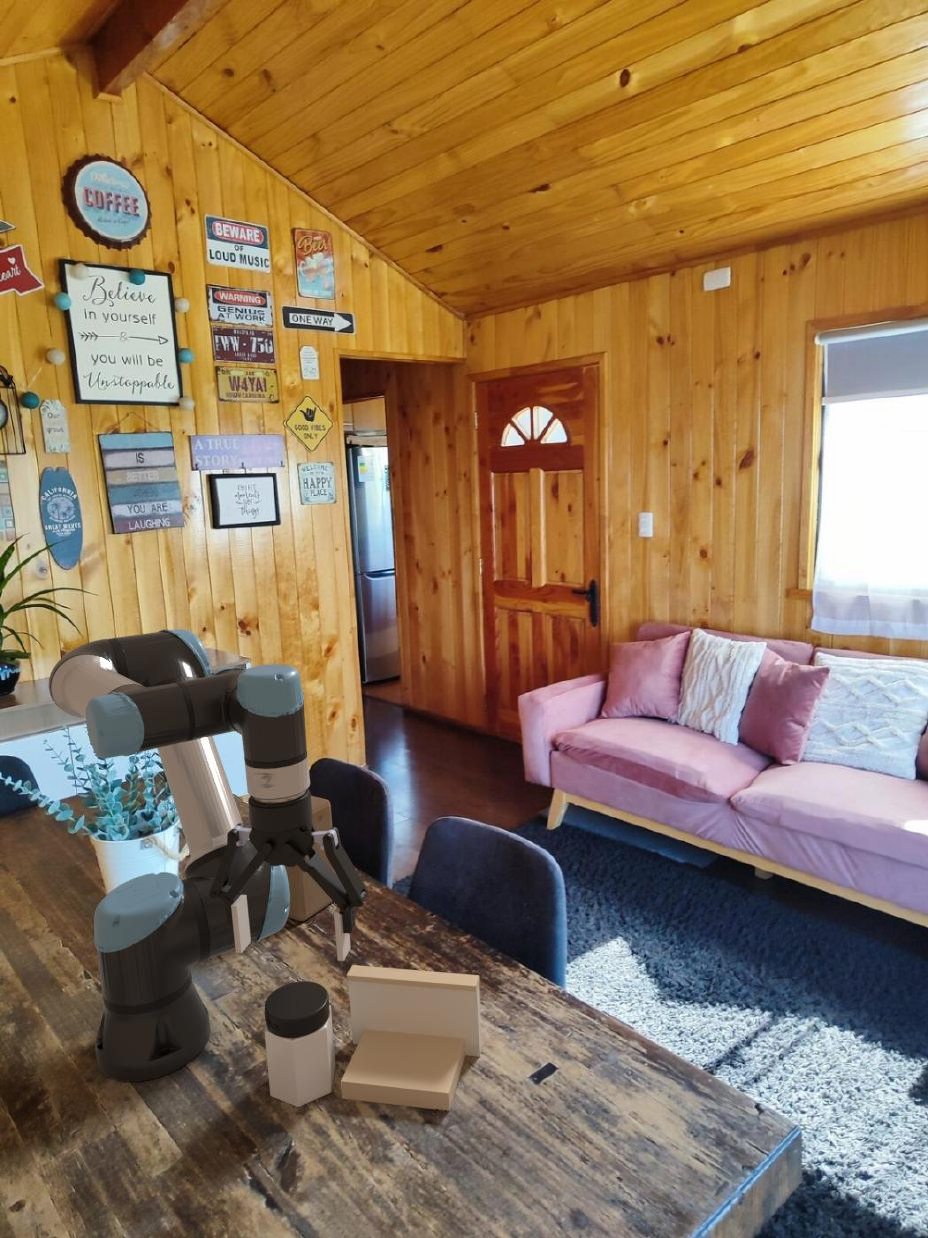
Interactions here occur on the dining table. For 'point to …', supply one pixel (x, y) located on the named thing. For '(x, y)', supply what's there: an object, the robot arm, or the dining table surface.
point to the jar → (299, 1043)
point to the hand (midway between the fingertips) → (293, 951)
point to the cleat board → (410, 1035)
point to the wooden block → (301, 885)
